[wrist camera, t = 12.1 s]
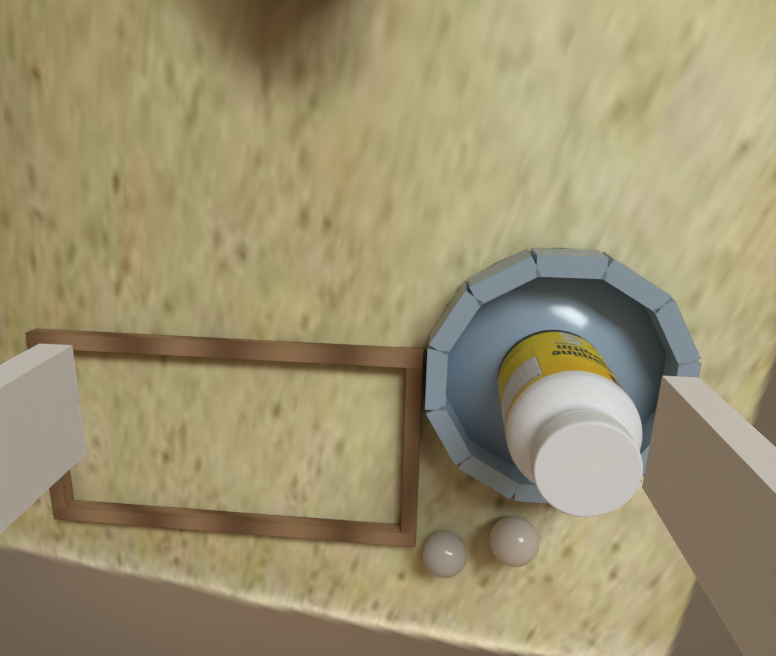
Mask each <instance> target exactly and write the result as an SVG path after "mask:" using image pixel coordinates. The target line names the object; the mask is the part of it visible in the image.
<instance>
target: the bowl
mask: <svg viewBox="0 0 776 656" xmlns="http://www.w3.org/2000/svg"><path fill="white" fill-rule="evenodd" d="M545 329H560V330H566V331H570V332H573V333H575V334H577V335H579V336H581V337H583V338H584V339H586V340H587V341H588V342H590V343H591V344H592V345H593V346H594V347H595V348H596V350H597V351H598V352H599V354H600V355H601V356H602V358H603V360H604V361H605V362H606V364H607V365H608V367H609V368H610V370H611V371H612V373H613V374H614V376H615V377H616V378H617V380H618V381H619V383H620V384H621V386H622V387H623V388H624V390H625V391H626V393H627V394H628V395H629V397H630V398H631V399H632V401H633V403H634V405H635V407H636V409H637V411H638V413H639V416H640V420H641V424H642V444H641V448H640V454H641V457H642V462H643V474H642V476H644V474H645V469H646V463H647V458H648V452H649V447H650V441H651V435H652V430H653V424H654V419H655V413H656V408H657V402H658V397H659V391H660V386H661V380H662V376H678V377H697V378H699V374H700V369H701V363H700V362H699V361H698V360H699V359H701V358H700V356H699V353H698V351H697V349H696V347H695V344H694V342H693V340H692V338H691V335H690V333H689V331H688V328H687V326H686V324H685V322H684V319H683V317H682V315H681V313H680V310H679V308H678V306H677V304H676V301H675V300H674V299H673V298H671V295H669V294H668V293H666V292H665V291H663V290H662V289H660V288H659V287H657V286H656V285H654V284H653V283H651V282H649V281H648V280H646V279H645V278H643V277H642V276H640V275H639V274H637V273H635V272H634V271H632V270H631V269H629V268H628V267H626V266H624V265H623V264H621V263H620V262H618V261H617V260H615V259H614V258H612V257H610V256H609V255H607V254H606V253H604V252H603V253H601V252H600V251H598V250H579V249H569V248H532V249H531V251H527V249H525V250H523V251H521V252H519V253H517V254H515V255H513V256H511V257H508V258H506V259H504V260H501V261H499V262H497V263H495V264H493V265H491V266H490V267H488V268H486V269H485V270H483V271H481V272H480V273H478V274H476V275H474V276H472V277H470V278H468V282H467V283H465V282H464V283H463V284H462V286H461V287H460V289H459V290H458V292H457V293H456V295H455V296H454V297H453V299H452V300H451V301H450V303H449V304H448V305H447V307H446V308H445V310H444V312H443V314H442V315H441V317H440V319H439V320H438V322H437V323H436V325H435V326H434V328H433V329H432V331H431V332H430V337H429V340H428V350H427V373H426V397H425V410H426V415H427V417H428V419H429V420H430V422H431V424H432V426H433V427H434V429H435V431H436V433H437V435H438V436H439V438H440V440H441V442H442V443H443V445H444V447H445V449H446V450H447V452H448V454H449V456H450V458H451V459H452V461H453V463H454V465H456V464H458V469H460V470H461V471H463V472H465V473H466V474H468V475H470V476H471V477H473V478H475V479H476V480H478V481H480V482H481V483H483V484H485V485H486V486H488V487H490V488H491V489H493V490H495V491H496V492H498V493H500V494H501V495H503V496H505V497H506V498H508V499H511V497H512V496H513V495H514V500H515V501H522V502H536V503H548V502H547V501H546V500H545V499H544V498H543V497H542V495H541V494H540V492H539V491H538V489H537V486H536V485H535V484H534V483H532V482H531V481H530V480H529V479H527V478H526V477H525V476H524V475H523V474H522V473H521V471H520V470H519V469H518V467H517V466H516V464H515V463H514V461H513V459H512V457H511V455H510V452H509V449H508V445H507V441H506V435H505V429H504V422H503V417H502V411H501V404H500V398H499V393H498V384H497V378H498V371H499V367H500V364H501V361H502V359H503V357H504V355H505V354H506V352H507V351H508V350H509V349H510V347H511V346H512V345H513V344H514V343H516V342H517V341H518V340H519V339H521V338H522V337H524V336H526V335H528V334H530V333H533V332H536V331H539V330H545ZM641 481H642V480H641Z"/></svg>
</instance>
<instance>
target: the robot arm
mask: <svg viewBox="0 0 776 656" xmlns="http://www.w3.org/2000/svg"><path fill="white" fill-rule="evenodd" d="M86 453H87V452H86V444H85V437H84V429H83V422H82V414H81V407H80V399H79V392H78V384H77V377H76V369H75V362H74V355H73V347H72V345H59V344H38V345H36V346H34V347H32V348H30V349H28V350H27V351H25V352H23V353H21V354H19V355H17V356H15V357H14V358H12V359H10V360H8V361H6V362H4V363H2V364H1V365H0V534H1V533H2V532H3V531H4V530H5V529H6V528H7V527H8V526H9V525H10V524H11V523H12V522H14V521H15V520H16V519H17V518H18V517H19V516H20V515H21V514H22V513H23V512H24V511H25V510H26V509H27V508H29V507H30V506H31V505H32V504H33V503H34V502H35V501H36V500H37V499H38V498H39V497H40V496H41V495H43V494H44V493H45V492H46V491H47V490H48V489H49V488H50V487H51V486H52V485H53V484H54V483H55V482H56V481H58V480H59V479H60V478H61V477H62V476H63V475H64V474H65V473H66V472H67V471H68V470H69V469H70V468H71V467H73V466H74V465H75V464H76V463H77V462H78V461H79V460H80V459H81V458H82V457H83V456H84V455H85V454H86ZM642 488H643V489H644V491H645V493H646V494H647V496H648V498H649V499H650V501H651V503H652V504H653V506H654V508H655V509H656V511H657V513H658V514H659V516H660V518H661V519H662V521H663V523H664V524H665V526H666V527H667V529H668V531H669V532H670V534H671V536H672V537H673V539H674V541H675V542H676V544H677V546H678V547H679V549H680V551H681V552H682V554H683V556H684V557H685V559H686V561H687V562H688V564H689V566H690V567H691V569H692V571H693V572H694V574H695V576H696V577H697V579H698V581H699V582H700V584H701V585H702V587H703V589H704V591H705V592H706V594H707V595H708V597H709V599H710V600H711V602H712V604H713V605H714V607H715V609H716V610H717V612H718V614H719V615H720V617H721V619H722V620H723V622H724V624H725V625H726V627H727V628H728V630H729V632H730V634H731V635H732V637H733V638H734V640H735V642H736V643H737V645H738V647H739V649H740V650H741V652H742V653H743V655H744V656H776V447H775V446H774V445H772V444H771V443H770V442H769V441H768V440H767V439H766V438H765V437H764V436H763V435H761V434H760V433H759V432H758V431H757V430H756V429H755V428H754V427H753V426H752V425H750V424H749V423H748V422H747V421H746V420H745V419H744V418H743V417H742V416H740V415H739V414H738V413H737V412H736V411H735V410H734V409H733V408H732V407H731V406H729V405H728V404H727V403H726V402H725V401H724V400H723V399H722V398H721V397H719V396H718V395H717V394H716V393H715V392H714V391H713V390H712V389H711V388H710V387H708V386H707V385H706V384H705V383H704V382H703V381H702V380H701V379H700V378H697V377H678V376H662V380H661V386H660V391H659V397H658V402H657V408H656V413H655V419H654V424H653V430H652V435H651V441H650V447H649V452H648V458H647V463H646V469H645V474H644V480H643V485H642Z"/></svg>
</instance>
